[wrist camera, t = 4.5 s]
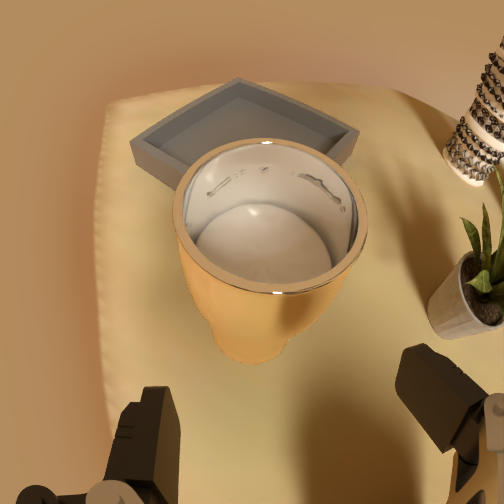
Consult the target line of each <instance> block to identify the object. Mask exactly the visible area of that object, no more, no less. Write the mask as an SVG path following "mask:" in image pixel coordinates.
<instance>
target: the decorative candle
mask: <svg viewBox="0 0 504 504" xmlns="http://www.w3.org/2000/svg"><path fill="white" fill-rule="evenodd" d="M489 59H490V60H491V62H492V64H488V65H485V71H486V73H482V75H481V79H482V81H483V83H481V84H479V85H477V89H476V91H475V95H476V98H475V100H474V102H473V104H472V106H471V107H470V108H469V109H468V111H467V113H466V114H465V116H464V117H463V116H462V117H461V119H460V123H461V124H458V125H457V127H456V131H457V132H453V133H452V135H451V137H450V139H449V140H448V142H447V144H446V147H445V148H444V149H443V157H444V159H445V161H446V163H447V165H448V166H449V167H450V169H451V170H452V171H453V172H454V173H455V174H456V175H457V176H458V177H459V178H460V179H461V180H463V181H465V182H466V183H468V184H470V185H472V186H476V187H479V186H482V185H483V183H484V181H485V178H486V179H488V175H489V174H490V173H491V172H493V171H494V167H493V165H492V163H493V164H494V165H497V164H499V160H500V158H502V157H504V37H503V39H502V42H501V44H500V46H498V48H497V50H496V52H495V53H490V54H489ZM491 161H492V163H491Z"/></svg>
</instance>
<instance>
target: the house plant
mask: <svg viewBox="0 0 504 504" xmlns="http://www.w3.org/2000/svg"><path fill="white" fill-rule="evenodd" d="M491 163H492V161H491ZM492 165H493V167H494V169H495V171H496V174H497V177H498V180H499V184H500V188H501V195H502V229H501V235H500V241H499V246H498V250H496V251H495V252H494V253H493V254H492V255H491V251H492V245H491V233H490V224H489V217H488V213H487V210H486V208H485V205H484V203H483V216H484V217H483V224H482V239H483V251H482V252H481V245H480V237H479V233H478V230H477V229H476V227H475V226H474V225H473V224H472V223H471V222H470V221H468V220H466V219H464V218H461V217H460V218H461V219H462V220H463V224H464V227H465V230H466V232H467V235H468V237H469V239H470V242H471V245H472V248H473V251H470V252H468V253H466V254H465V255H464V256H463V257H462V258H461V260H460V261H459V262H458V264H457V265H456V266H455V268H454V269H453V270H452V271H451V273H450V274H449V275H448V276H447V278H446V279H445V280H444V281H443V283H442V284H441V285H440V286H439V288H438V289H437V290H436V291H435V292H434V293H433V295H432V296H431V297H430V299H429V302H428V307H427V315H428V318H429V321H430V324H431V326H432V328H433V329H434V331H435V332H436V334H437V335H439V336H440V337H441V338H444V339H446V340H452V339H457V338H462V337H466V336H471V335H475V334H479V333H483V332H487V331H491V330H495V329H497V328H500V327H502V326H503V325H504V236H503V235H504V186H503V183H502V180H501V177H500V174H499V172H498V170H497V168H496V167H495V165H494V164H493V163H492Z"/></svg>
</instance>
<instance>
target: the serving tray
mask: <svg viewBox="0 0 504 504" xmlns="http://www.w3.org/2000/svg"><path fill="white" fill-rule="evenodd" d="M359 133H360V131H358V130H356V129H354V128H353V127H351V126H349V125H347V124H345V123H343V122H341V121H339V120H337V119H335V118H333V117H331V116H329V115H327V114H325V113H323V112H321V111H319V110H317V109H314V108H312V107H310V106H308V105H306V104H304V103H301V102H299V101H297V100H294V99H292V98H290V97H287V96H285V95H283V94H280V93H278V92H275V91H273V90H270V89H268V88H265V87H263V86H260V85H257V84H255V83H252V82H249V81H246V80H243V79H241V78H236V79H234V80H232V81H230V82H228V83H226V84H224V85H222V86H220V87H218V88H216V89H214V90H213V91H211V92H209V93H207V94H205V95H203V96H201V97H200V98H198V99H196V100H194V101H193V102H191V103H189V104H187V105H186V106H184V107H182V108H180V109H179V110H177V111H175V112H174V113H172V114H170V115H169V116H167V117H166V118H164V119H162V120H161V121H159V122H158V123H156V124H155V125H153V126H152V127H150V128H148V129H147V130H145V131H144V132H142V133H141V134H139V135H138V136H137V137H135V138H134V139H132V140H131V141H129V142H130V145H131V149H132V152H133V155H134V159H135V162H136V165H138V166H139V167H141V168H142V169H144V170H145V171H147V172H148V173H150V174H151V175H153V176H154V177H156V178H157V179H159V180H160V181H161V182H163V183H164V184H166V185H167V186H169V187H170V188H172V189H173V190H175V191H176V189H177V186H178V184H179V182H180V180H181V179H182V177H183V175H184V174H185V173H186V171H187V170H188V169H189V168H190V167H191V166H192V165H193V164H194V163H195V162H196V161H197V160H198V159H199V158H201V157H202V156H203V155H205V154H206V153H208V152H210V151H211V150H213V149H215V148H217V147H220V146H222V145H225V144H227V143H231V142H234V141H238V140H243V139H251V138H275V139H283V140H288V141H292V142H296V143H299V144H302V145H305V146H308V147H310V148H313V149H315V150H317V151H319V152H321V153H322V154H324V155H326V156H327V157H329V158H330V159H332V160H333V161H334V162H336V163H337V164H338V165H339V166H341V165H342V164H343V163H344V162H345V161H346V159H347V158H348V157H349V156H350V155H351V153H352V151H353V149H354V146H355V143H356V141H357V138H358V135H359Z"/></svg>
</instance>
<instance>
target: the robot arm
mask: <svg viewBox="0 0 504 504" xmlns="http://www.w3.org/2000/svg"><path fill="white" fill-rule="evenodd" d="M456 366H457V365H455V364H454V363H453V362H452V361H451V360H450V359H449V358H447V357H445V356H443V355H441V354H439V353H437V352H436V353H435V352H434V351H433V350H432V349H431V348H430V347H429V346H428V345H426V344H424V343H421V344H418V345H415V346H412V347H408V348H406V349H404V351H403V353H402V357H401V361H400V365H399V369H398V373H397V377H396V381H395V388H396V392H397V395H398V396H399V398H400V399H401V400H402V401H403V403H404V404H405V405H406V407H407V408H408V409H409V410H410V412H411V413H412V414H413V416H414V417H415V418H416V419H417V421H418V422H419V423H420V425H421V426H422V427H423V429H424V430H425V431H426V433H427V434H428V435H429V436H430V438H431V439H432V440H433V442H434V443H435V444H436V446H437V447H438V448H439V450H440V451H441V452H442V454H443V453H445V452H447V451H448V450H450V449H452V448H455V450H456V452H455V453H454V456H453V466H452V475H451V484H450V491H449V497H448V500H447V503H446V504H504V394H502V393H495V394H491V395H488V394H487V393H486V392H485V391H484V390H483V389H482V388H481V387H480V386H479V385H477V384H476V383H475V382H474V381H473V380H472V379H471V378H470V377H469V376H468V375H467V374H465V373H463V371H462V370H461V369H460V368H459V367H456ZM180 437H181V431H180V422H179V418H178V415H177V412H176V408H175V405H174V402H173V399H172V395H171V392H170V389H169V387H168V386H153V387H144V389H143V392H142V397H141V401H140V402H130V403H129V404H128V406H127V407H126V408H125V409H124V410H123V411H122V413H121V415H120V419H119V422H118V428H117V430H116V433H115V439H114V441H113V444H112V448H111V452H110V456H109V460H108V464H107V468H106V472H105V476H104V479H103V481H102V482H99V483H97V484H96V485H94V486H93V487H92V488H91V489H90V490H89V491H88V493H85V494H79V495H65V496H56V495H55V494H54V493H53V492H52V491H51V490H49V489H48V488H46V487H44V486H40V485H32V486H29V487H26V488H25V489H23V490H22V491H21V493H20V494H19V496H18V498H17V501H16V504H178V481H179V456H180Z"/></svg>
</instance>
